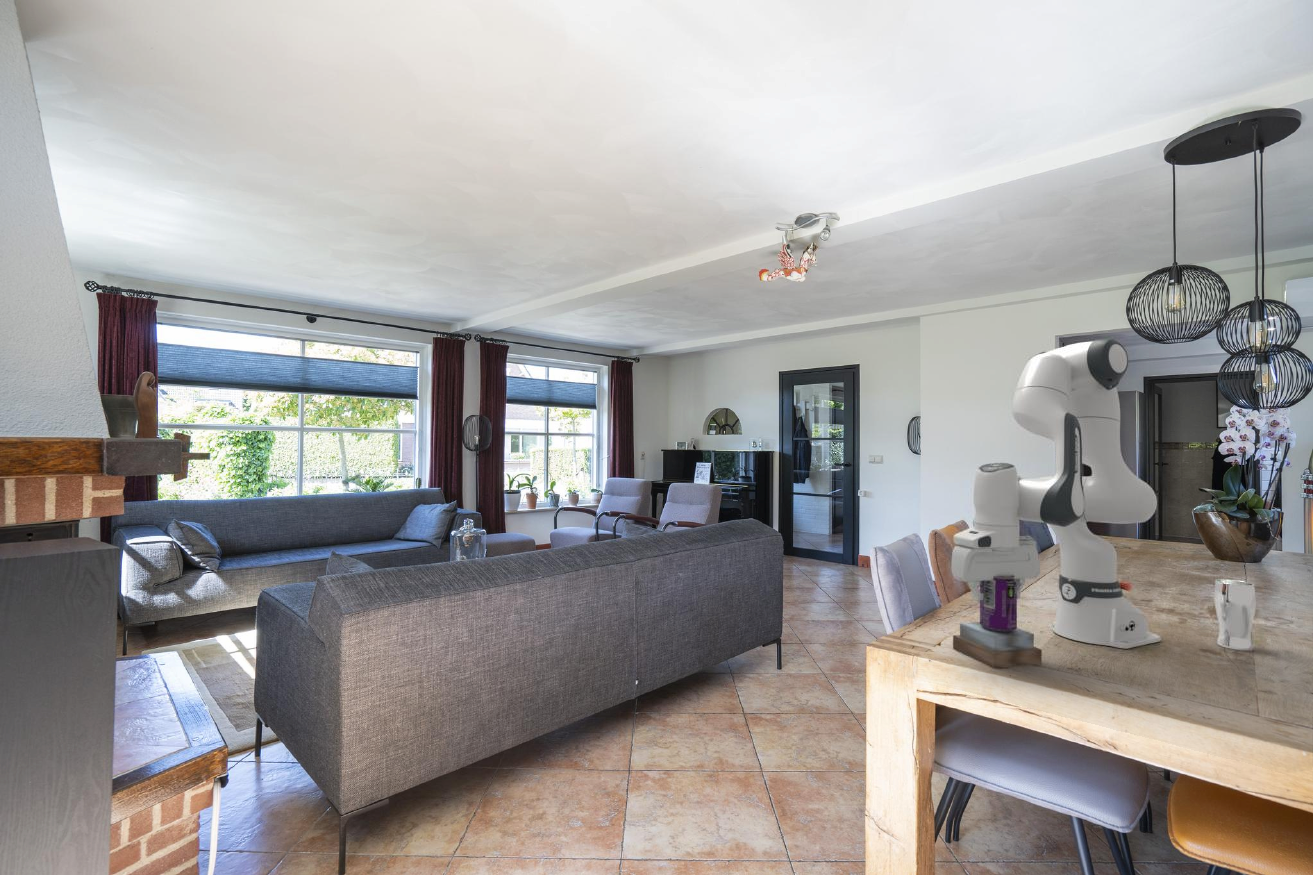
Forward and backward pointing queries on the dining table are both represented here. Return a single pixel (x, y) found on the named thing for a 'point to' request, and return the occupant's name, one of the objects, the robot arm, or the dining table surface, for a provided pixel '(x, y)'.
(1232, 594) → the beer glass
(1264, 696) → the dining table surface
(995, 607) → the beverage can
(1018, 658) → the stepped plinth
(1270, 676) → the dining table surface
